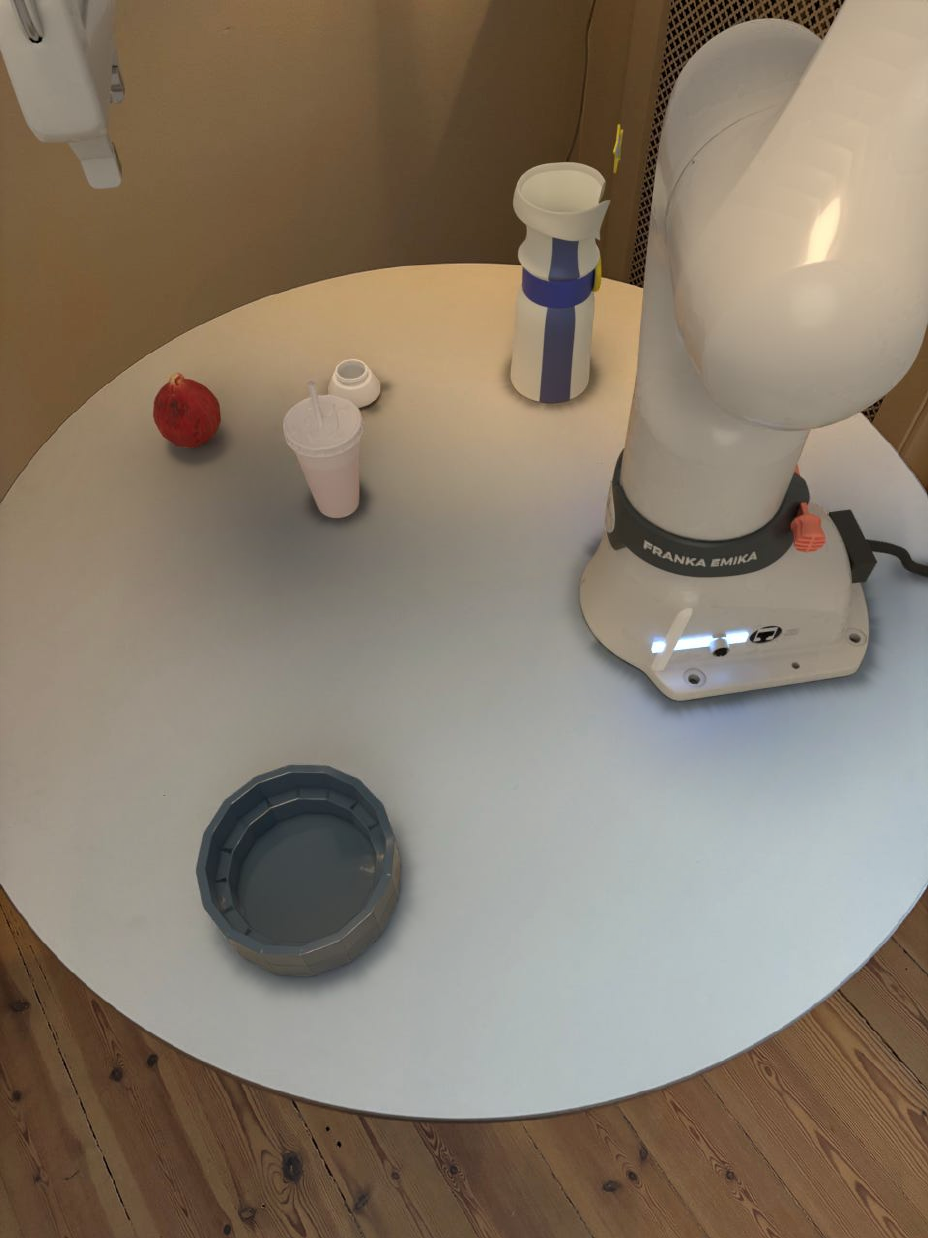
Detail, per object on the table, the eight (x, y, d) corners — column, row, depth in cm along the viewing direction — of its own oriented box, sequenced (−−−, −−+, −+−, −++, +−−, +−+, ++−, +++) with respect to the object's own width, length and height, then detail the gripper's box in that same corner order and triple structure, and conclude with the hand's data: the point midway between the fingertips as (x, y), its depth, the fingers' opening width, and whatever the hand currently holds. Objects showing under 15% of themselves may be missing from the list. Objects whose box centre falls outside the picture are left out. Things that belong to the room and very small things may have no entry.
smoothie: (292, 523, 79) (258, 400, 68) (315, 470, 83) (288, 344, 71) (362, 535, 79) (340, 413, 67) (383, 481, 82) (366, 356, 70)
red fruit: (216, 470, 83) (192, 403, 77) (157, 461, 84) (128, 395, 77) (237, 425, 86) (217, 358, 80) (180, 418, 87) (155, 350, 81)
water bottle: (586, 342, 92) (614, 82, 72) (599, 401, 87) (634, 139, 67) (504, 348, 92) (510, 88, 71) (513, 407, 87) (522, 146, 66)
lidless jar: (354, 418, 87) (391, 391, 89) (351, 395, 84) (388, 367, 86) (318, 395, 89) (355, 369, 91) (313, 371, 86) (351, 344, 88)
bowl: (407, 800, 65) (400, 766, 60) (393, 981, 58) (384, 958, 53) (236, 795, 65) (217, 762, 61) (202, 974, 58) (178, 951, 54)
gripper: (72, -77, 37) (165, 233, 49) (92, -227, 49) (163, 53, 60) (-89, -65, 37) (43, 246, 48) (-31, -220, 48) (64, 62, 59)
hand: (110, 138), depth 54 cm, fingers open, 8 cm apart
